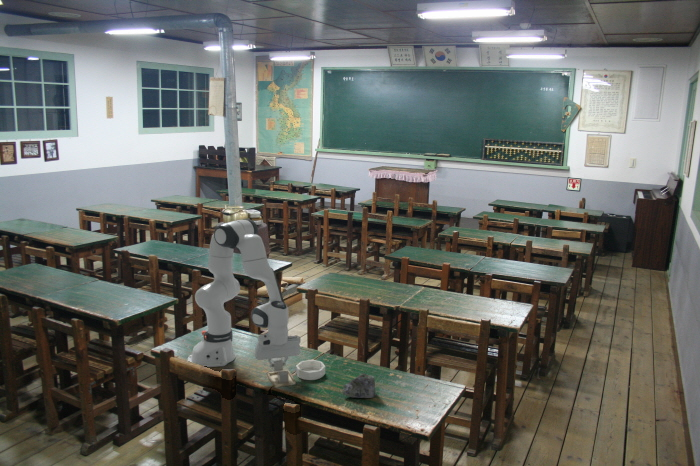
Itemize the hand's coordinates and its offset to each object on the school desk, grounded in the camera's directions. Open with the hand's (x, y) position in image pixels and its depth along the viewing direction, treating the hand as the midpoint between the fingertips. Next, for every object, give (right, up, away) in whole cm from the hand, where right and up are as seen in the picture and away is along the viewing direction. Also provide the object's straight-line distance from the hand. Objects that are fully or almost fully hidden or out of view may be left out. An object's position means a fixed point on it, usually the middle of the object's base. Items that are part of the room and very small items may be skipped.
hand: (277, 366), depth 247 cm
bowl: (+15, -5, +4) cm, 16 cm away
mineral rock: (+37, -9, -14) cm, 41 cm away
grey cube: (0, -2, 0) cm, 2 cm away
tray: (+2, -6, -2) cm, 7 cm away
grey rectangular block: (+3, -6, -5) cm, 8 cm away
